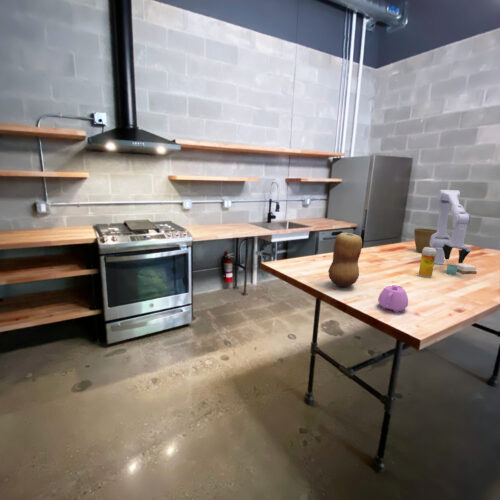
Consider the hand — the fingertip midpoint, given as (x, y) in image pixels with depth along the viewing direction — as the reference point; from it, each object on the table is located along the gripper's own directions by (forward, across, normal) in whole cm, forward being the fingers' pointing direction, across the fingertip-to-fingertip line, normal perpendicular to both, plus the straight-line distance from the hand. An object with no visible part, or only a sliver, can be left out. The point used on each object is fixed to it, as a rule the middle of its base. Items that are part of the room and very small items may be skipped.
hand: (453, 261), depth 160 cm
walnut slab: (+8, -1, +11) cm, 13 cm away
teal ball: (+7, 0, 0) cm, 7 cm away
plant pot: (+7, -42, +27) cm, 51 cm away
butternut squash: (+8, +1, -70) cm, 70 cm away
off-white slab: (+6, -1, +11) cm, 12 cm away
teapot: (+8, +27, -65) cm, 71 cm away
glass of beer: (+7, -1, -18) cm, 19 cm away
